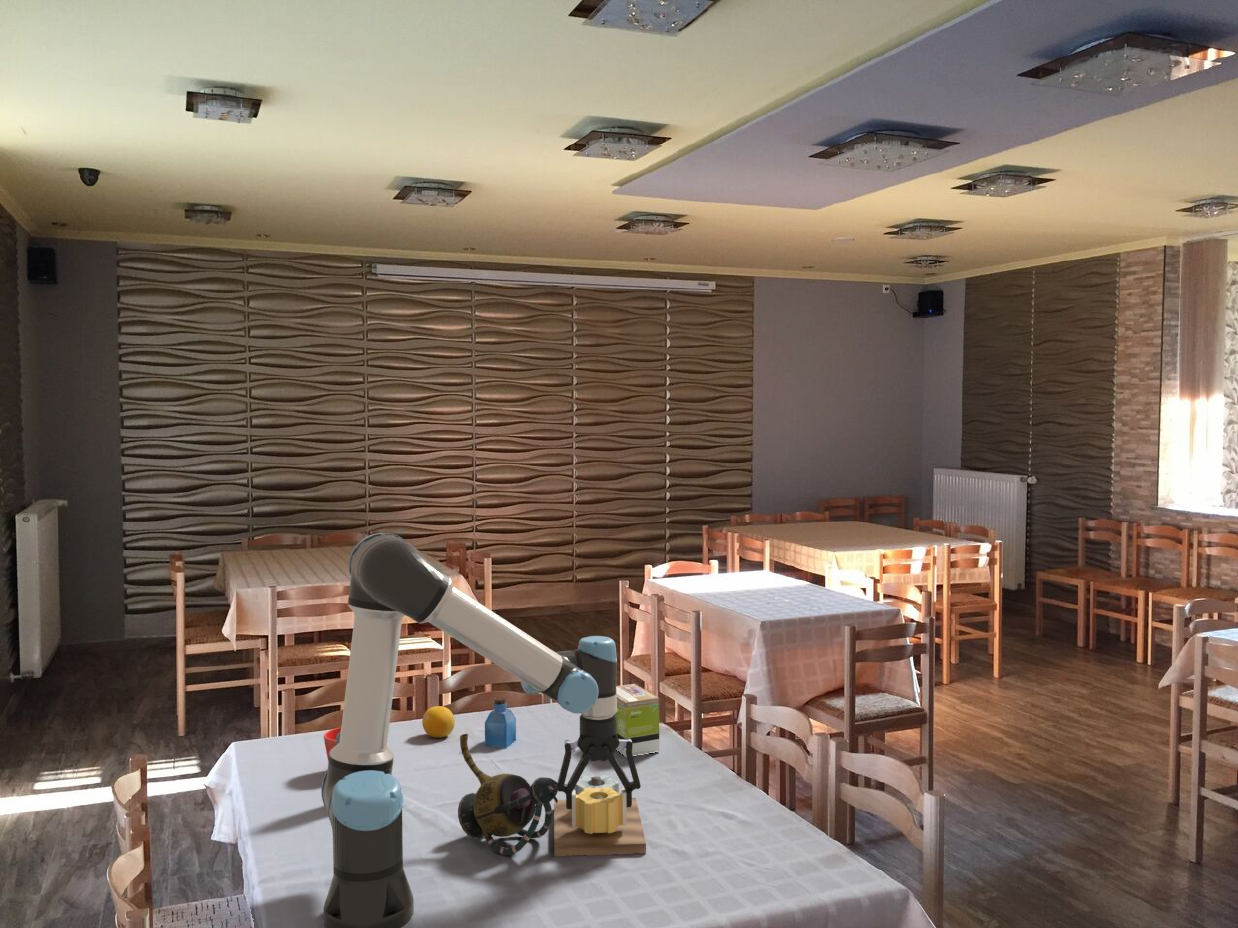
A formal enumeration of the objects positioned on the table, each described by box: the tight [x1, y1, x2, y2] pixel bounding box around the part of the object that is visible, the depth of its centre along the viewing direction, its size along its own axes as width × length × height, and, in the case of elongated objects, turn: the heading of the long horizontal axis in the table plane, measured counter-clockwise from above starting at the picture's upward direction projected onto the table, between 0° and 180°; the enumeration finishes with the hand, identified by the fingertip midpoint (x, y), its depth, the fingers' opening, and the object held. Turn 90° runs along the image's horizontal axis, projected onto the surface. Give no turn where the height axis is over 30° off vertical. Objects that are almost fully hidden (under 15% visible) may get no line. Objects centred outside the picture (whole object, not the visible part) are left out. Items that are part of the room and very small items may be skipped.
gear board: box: [553, 775, 647, 857], centre depth 208 cm, size 24×18×9 cm
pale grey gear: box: [574, 774, 620, 795], centre depth 214 cm, size 10×9×6 cm
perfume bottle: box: [484, 696, 517, 749], centre depth 265 cm, size 6×6×12 cm
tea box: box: [615, 683, 661, 758], centre depth 261 cm, size 15×10×15 cm, turn 25°
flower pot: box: [323, 727, 341, 762], centre depth 243 cm, size 11×11×10 cm
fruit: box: [422, 705, 455, 739], centre depth 271 cm, size 9×8×8 cm
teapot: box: [457, 733, 559, 856], centre depth 201 cm, size 12×25×23 cm
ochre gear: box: [576, 787, 623, 834], centre depth 203 cm, size 10×9×6 cm
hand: (599, 823), depth 203 cm, fingers closed on ochre gear, 9 cm apart
